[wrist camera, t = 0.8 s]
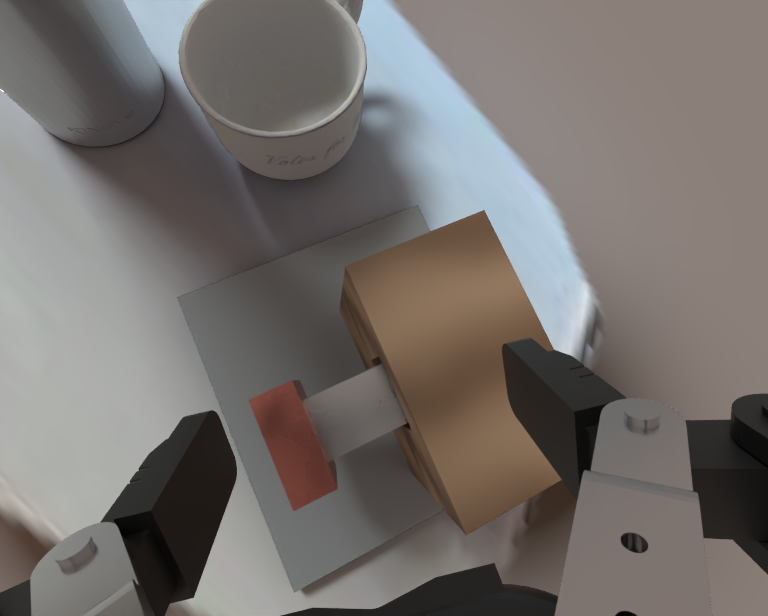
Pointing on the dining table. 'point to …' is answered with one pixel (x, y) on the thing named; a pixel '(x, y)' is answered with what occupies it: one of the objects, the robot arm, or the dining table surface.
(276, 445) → the red headed square peg
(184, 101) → the dining table surface
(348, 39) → the teacup
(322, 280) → the base mat
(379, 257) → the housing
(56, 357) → the dining table surface
